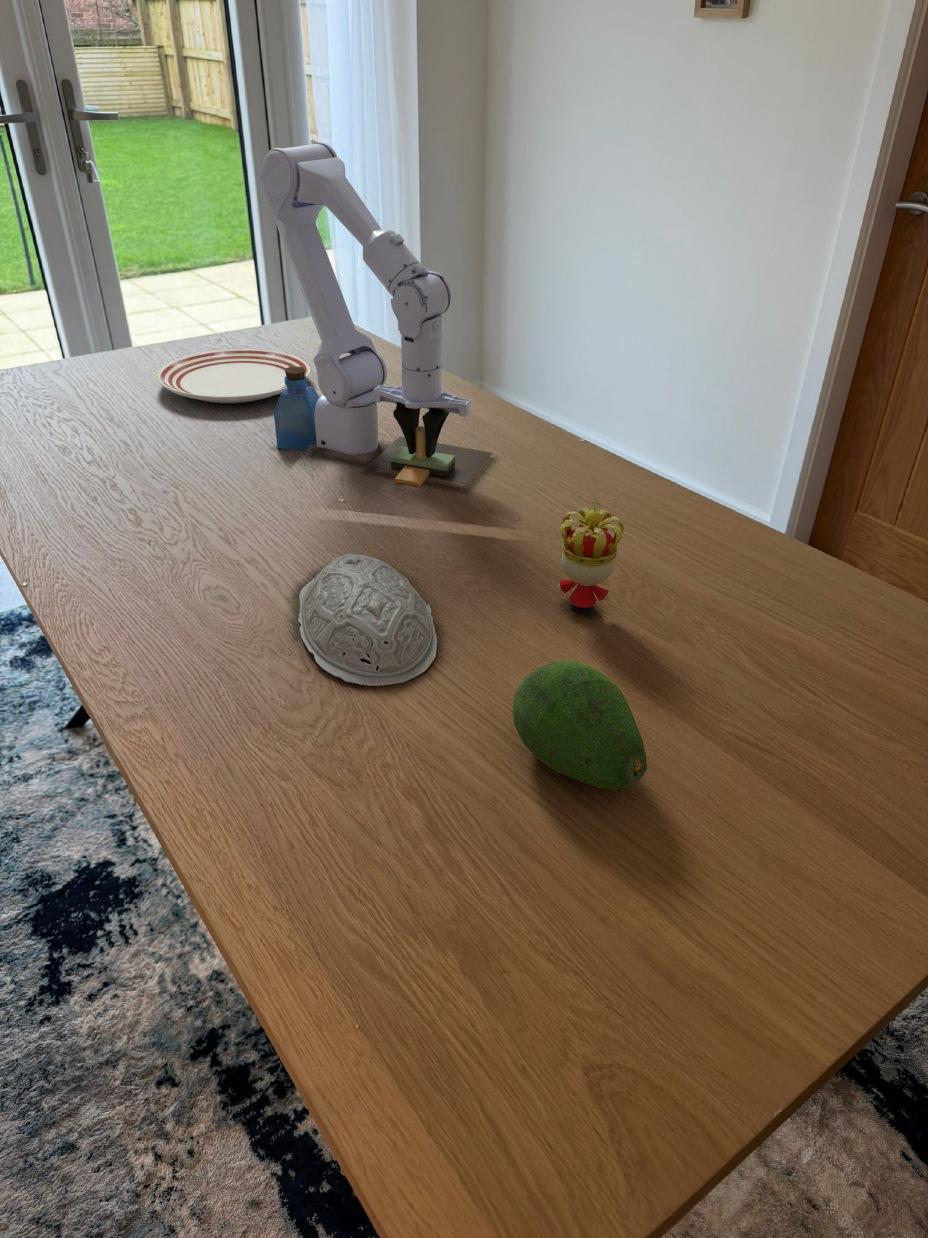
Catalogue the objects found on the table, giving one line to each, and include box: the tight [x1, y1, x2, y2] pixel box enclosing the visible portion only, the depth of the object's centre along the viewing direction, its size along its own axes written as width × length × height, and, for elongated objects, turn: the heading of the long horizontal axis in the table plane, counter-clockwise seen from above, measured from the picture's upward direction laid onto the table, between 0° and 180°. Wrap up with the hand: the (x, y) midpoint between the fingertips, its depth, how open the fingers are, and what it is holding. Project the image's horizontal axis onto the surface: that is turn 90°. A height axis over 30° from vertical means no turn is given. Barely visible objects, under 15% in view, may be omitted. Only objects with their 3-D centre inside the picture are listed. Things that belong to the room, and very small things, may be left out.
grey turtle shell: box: [298, 553, 438, 687], centre depth 103 cm, size 16×25×7 cm, turn 16°
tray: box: [368, 435, 493, 485], centre depth 139 cm, size 16×12×1 cm
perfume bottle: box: [273, 366, 320, 451], centre depth 143 cm, size 6×6×12 cm
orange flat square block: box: [394, 466, 430, 487], centre depth 133 cm, size 4×4×1 cm
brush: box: [390, 425, 455, 477], centre depth 135 cm, size 9×4×6 cm, turn 71°
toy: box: [557, 497, 625, 616], centre depth 103 cm, size 7×7×15 cm
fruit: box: [511, 659, 648, 791], centre depth 83 cm, size 15×10×10 cm, turn 28°
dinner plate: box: [156, 348, 311, 404], centre depth 165 cm, size 27×27×3 cm
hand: (421, 453), depth 135 cm, fingers closed on brush, 2 cm apart
